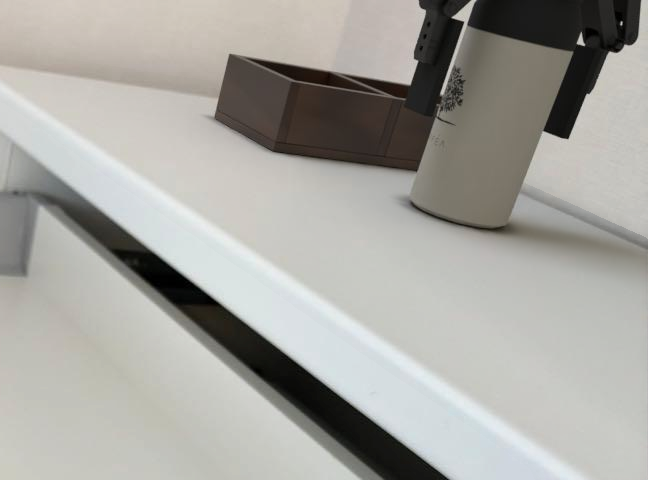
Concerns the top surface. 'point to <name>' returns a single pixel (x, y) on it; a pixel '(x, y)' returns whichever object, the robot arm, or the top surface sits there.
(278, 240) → the top surface
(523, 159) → the travel mug
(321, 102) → the divided wooden tray
